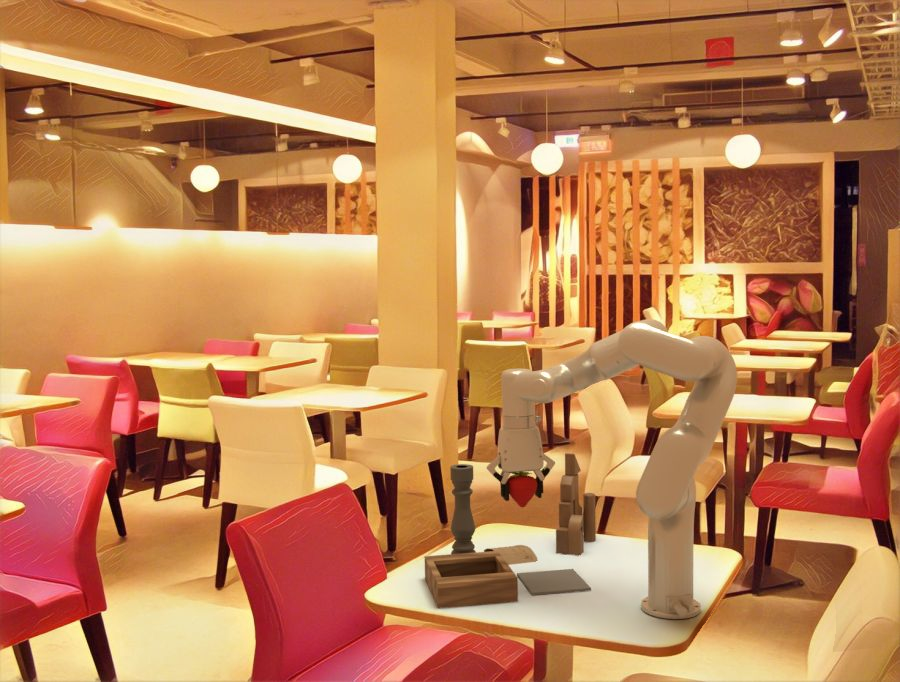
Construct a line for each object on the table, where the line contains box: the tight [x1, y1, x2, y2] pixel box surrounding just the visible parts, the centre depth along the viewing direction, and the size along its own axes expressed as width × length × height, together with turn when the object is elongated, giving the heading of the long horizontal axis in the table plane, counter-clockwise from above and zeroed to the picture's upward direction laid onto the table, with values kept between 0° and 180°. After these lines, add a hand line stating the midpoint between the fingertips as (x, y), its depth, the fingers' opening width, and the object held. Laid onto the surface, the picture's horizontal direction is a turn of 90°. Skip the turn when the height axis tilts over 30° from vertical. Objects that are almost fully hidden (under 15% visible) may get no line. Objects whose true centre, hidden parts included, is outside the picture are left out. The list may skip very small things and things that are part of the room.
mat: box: [516, 568, 592, 596], centre depth 226 cm, size 14×14×1 cm
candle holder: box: [449, 463, 477, 554], centre depth 239 cm, size 6×6×25 cm
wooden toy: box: [555, 452, 597, 556], centre depth 253 cm, size 16×7×25 cm, turn 156°
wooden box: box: [424, 550, 519, 608], centre depth 222 cm, size 20×18×6 cm
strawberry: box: [507, 471, 538, 508], centre depth 222 cm, size 6×8×10 cm
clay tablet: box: [483, 544, 538, 566], centre depth 246 cm, size 14×10×3 cm
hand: (522, 497), depth 222 cm, fingers closed on strawberry, 7 cm apart
